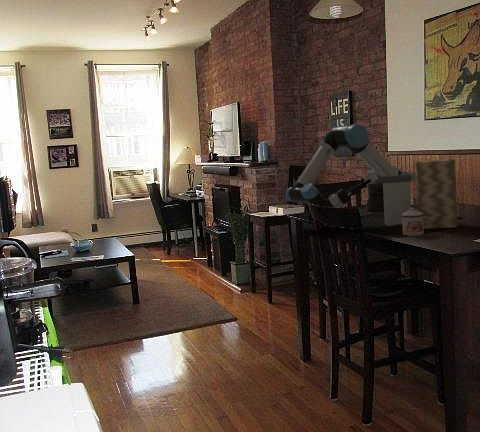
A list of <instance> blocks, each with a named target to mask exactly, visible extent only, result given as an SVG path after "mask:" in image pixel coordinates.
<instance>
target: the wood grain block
mask: <svg viewBox="0 0 480 432" xmlns="http://www.w3.org/2000/svg"><path fill="white" fill-rule="evenodd" d="M414 165H415V167H414V169H415V170H414V172H416V181H415V190H416V193H415V194H416V210H417V211H419V212H422V213H423V217H428V218H430V221H431V222H430V225H429V226H428V227H427V228H424V230H425V229H427V230H428V229H445V228H447V229H448V228H458V211H457V210H458V209H457V208H458V206H457V205H458V204H457V179H456V178H457V177H456V176H457V174H456V160H455V159H453V158H447V159H445V158H444V159H434V160H421V161H414ZM427 224H428V219H427V218H424V219H423V227H424V226H426V225H427Z"/></svg>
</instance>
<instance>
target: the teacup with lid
mask: <svg viewBox="0 0 480 432" xmlns="http://www.w3.org/2000/svg"><path fill="white" fill-rule="evenodd" d="M401 216H402V224H401V226H402V234H403V236H405V235H407V237H418V236H417V235H419V236H422V234H423V235H424V233H425V232H424V230H425V229H424V228H427V227H428V226H429V225H430V222H431V221H430V218H428V217H423V213H422V212H419V211H417V209H415V207H411V208H410V210H408V211H407V212H405V213H403V214H402V215H401ZM424 218H427V219H428V224H427V225H426V226H424V227H423V219H424Z"/></svg>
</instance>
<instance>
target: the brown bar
mask: <svg viewBox="0 0 480 432" xmlns="http://www.w3.org/2000/svg"><path fill="white" fill-rule="evenodd" d="M366 177H367V176H366ZM367 178H369V177H367ZM407 181H411V183H413V182H415V183H416V172H415V171H409V175H395V176H382V177H378V179H377V180H375V181H373V182H372V183H370V184H378V183H392V182H407Z"/></svg>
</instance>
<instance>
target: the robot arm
mask: <svg viewBox="0 0 480 432" xmlns="http://www.w3.org/2000/svg"><path fill="white" fill-rule="evenodd" d="M340 149H347V150H348V151H349V152H350V153H351V154H353V155H358V157H359V158H361V160H362V161H363V162H364V163H366V165H367V166H369V168H371V169H372V171H368V173H367V176H365V177H361V178H360V180H359V181H357V182H356V183H355V184H352V186H349V187H348V188H347V189H346V191H345V190H344V189H343V188H340V189H338V190H337V191H336V192H334V193H333V194H329V196H328V197H326V198H324V196H323V195H322V193H321V192H320V190H319V189H318V188H317V186H315V185H314V184H313V183H314V182H315V180H316V179H317V177H319V174H320V172H321V171H322V170H323V168H324V166H325V165H326V164H327V162H328V160H329V159H330V157H331V156H332V155H334V154H335V153H336V152H337V151H338V150H340ZM409 174H410V172H408V171H402V170H401V169H400V168H399V167H398V166H396V165H392V164H391V162H389V161H388V160H387V159H386V158H385V156H383V155H382V154H381V153H380V152H379V150H377V149H376V147H374V146H373V144H371V143H370V135H369V130H368V129H367V128H366V127H365V125H363V124H357V123H356V124H355V123H354V124H353V123H352V124H347V125H339V126H338V125H337V126H335V127H333V128H331V129H330V130H329V131H328V132H327V133H326V134H325V135H324V136H323V138H322V139H321V141H319V143H318V149H317V150H316V151H315V152H314V155H313V156H312V157H311V159H310V160H309V162H308V164H307V165H306V167H304V170H302V173H301V174H300V176H299V177H298V179H297V180H296V182H295V183H294V184H293V186H290V187H288V188H287V189H286V191H285V193H284V194H285V195H284V196H285V198H286V200H287V201H289V202H292V203H303V204H309V203H311V204H314V205H319V206H325V207H333V208H339V209H340V208H342V207H343V206H344V205H346V204H347V203H349V202H350V201H351V198H350V197H352V196H354V195H355V194H357V193H358V192H359V191H361V190H363V189H367V195H368V198H367V202H366V205H365V211H367V212H373V213H375V212H376V213H377V212H378V213H379V212H384V194H383V183H378V184H370V183H372V182H373V181H375V180H377V179H378V177H382V176H395V175H409ZM367 177H369V178H367ZM409 182H410V186H411V185H412V181H409Z"/></svg>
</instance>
